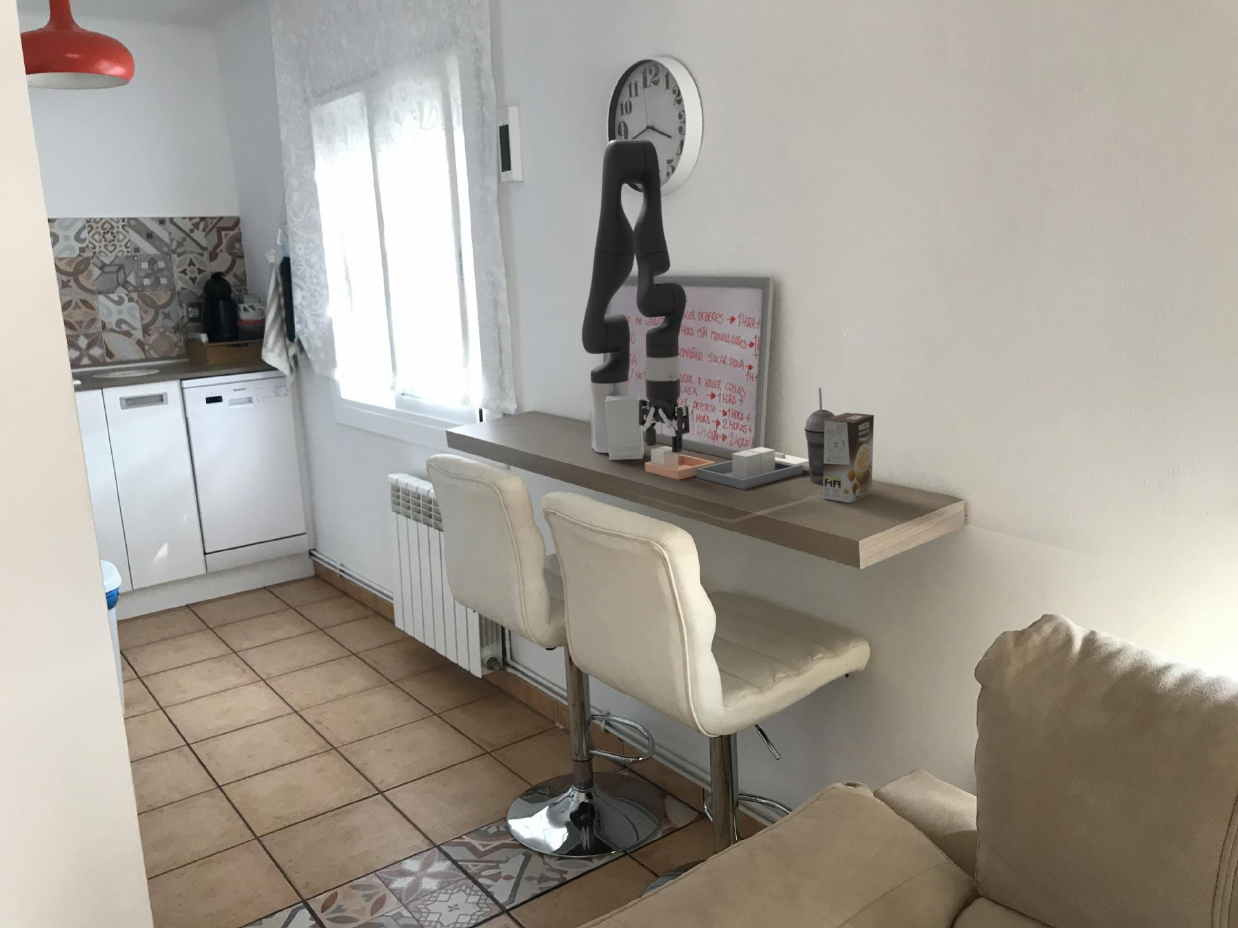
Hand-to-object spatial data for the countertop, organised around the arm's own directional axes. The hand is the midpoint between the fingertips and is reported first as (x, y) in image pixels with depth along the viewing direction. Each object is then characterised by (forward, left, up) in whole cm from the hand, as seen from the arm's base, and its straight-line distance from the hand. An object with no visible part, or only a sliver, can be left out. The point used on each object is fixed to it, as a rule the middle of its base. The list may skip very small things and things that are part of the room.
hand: (664, 448), depth 219 cm
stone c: (+17, +13, -5) cm, 22 cm away
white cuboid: (+17, +9, -5) cm, 19 cm away
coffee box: (+41, +13, -6) cm, 43 cm away
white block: (0, 0, -5) cm, 5 cm away
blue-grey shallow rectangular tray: (+17, +11, -5) cm, 21 cm away
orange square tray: (+3, +2, -6) cm, 7 cm away
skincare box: (-18, +4, -6) cm, 20 cm away
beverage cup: (+31, +17, -6) cm, 35 cm away
